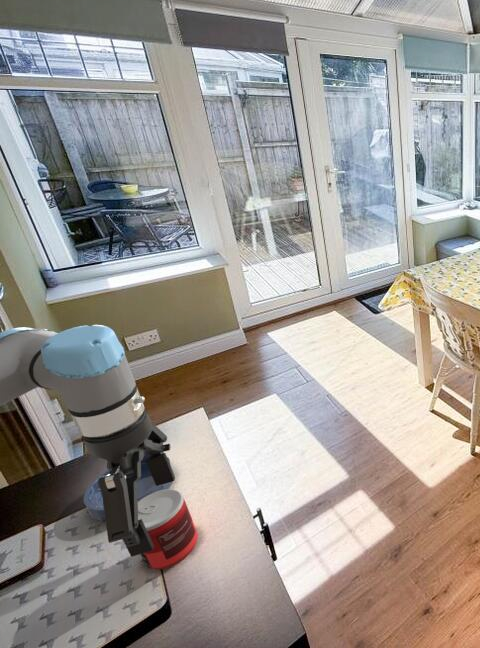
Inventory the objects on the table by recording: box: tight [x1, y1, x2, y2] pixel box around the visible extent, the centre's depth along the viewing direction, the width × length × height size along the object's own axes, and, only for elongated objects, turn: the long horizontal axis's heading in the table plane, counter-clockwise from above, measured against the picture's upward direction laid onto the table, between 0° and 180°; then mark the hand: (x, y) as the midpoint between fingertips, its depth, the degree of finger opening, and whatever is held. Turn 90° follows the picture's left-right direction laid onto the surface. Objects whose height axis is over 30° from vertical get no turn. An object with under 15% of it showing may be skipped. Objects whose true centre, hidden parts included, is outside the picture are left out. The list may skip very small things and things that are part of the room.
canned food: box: [138, 488, 199, 570], centre depth 73 cm, size 8×8×11 cm
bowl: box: [83, 455, 175, 522], centre depth 85 cm, size 13×13×4 cm
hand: (155, 514), depth 71 cm, fingers open, 13 cm apart
